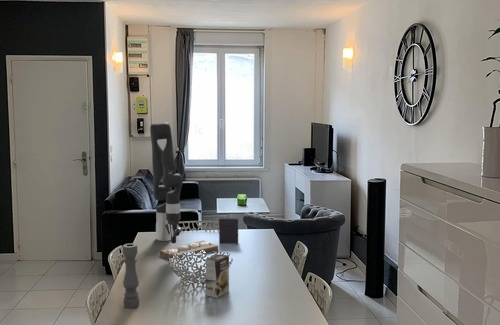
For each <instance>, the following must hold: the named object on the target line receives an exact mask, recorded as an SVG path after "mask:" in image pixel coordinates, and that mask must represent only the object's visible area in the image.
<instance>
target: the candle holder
mask: <svg viewBox="0 0 500 325" xmlns="http://www.w3.org/2000/svg"><path fill="white" fill-rule="evenodd" d="M122 254H123V257H124V258H125V259H123V263H124V264H125V272H124V277H123V281H122V282H123V283H122V285H123V286H122V287H123V288H124V289H125V292H124V294H123V296H124V297H123V308H124V309H127V310H128V309H129V310H130V309H131V310H132V309H137V308H139V307H140V296H139V291H137V288H138V287H139V284H140V281H139V278H138V275H137V274H138V273H137V270H136V263H137V262H138V259H137V258H136V257H137V254H138V244H137V243H132V242H130V243H125V244H123V245H122Z"/></svg>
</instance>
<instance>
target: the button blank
mask: <svg viewBox="0 0 500 325" xmlns="http://www.w3.org/2000/svg"><path fill="white" fill-rule="evenodd" d="M183 245H184V246H181V245H179V246H180V251H186V250H189V246H185V244H183Z"/></svg>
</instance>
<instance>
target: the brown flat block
mask: <svg viewBox="0 0 500 325" xmlns="http://www.w3.org/2000/svg"><path fill="white" fill-rule="evenodd" d="M202 242H208V243H209V245H208V246H201V245H200V243H202ZM192 243H198V244H199V248H195V249H192V248H190V244H192ZM184 245H185V246H189V250H186V251H180V246H184ZM172 249H176V250H178V253H174V254H177V256H178V257H179V258H180V259H181V258H182V257H183V255H182V253H187V252H193V251H195V254H197V253H198V252H200V251H201V250H205V252H206V253H207V254H211V253H214V252H213V251H215V252H218V251H219V245H218V244H215V243H212V242H209V241H205V240H200V241H194V242H190V243H185V244H181V245H177V246H172V247H167V248H163V249H160V250H159V256H160V257H163V258H165V259H167V260H169V258H173V255H174V254H171V253H169V250H172ZM210 252H211V253H210Z"/></svg>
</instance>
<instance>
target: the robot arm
mask: <svg viewBox="0 0 500 325" xmlns="http://www.w3.org/2000/svg"><path fill="white" fill-rule="evenodd" d="M149 133H150V140H151V141H150V142H151V150H152V151H151V154H152V155H151V160H152V173H153V176H152V177H153V184H152V185H153V186H152V187H153V188H152V189H153V192H152V193H153V199H154V200H155V201H165V202H164V203H163V204H160V205H157V206H156V208H155V213H156V214H155V215H156V216H155V218H156V223H155V238H156V240H157V241H158V242H168V241H170V243H171V244H177V237H178V236H180V235H181V232H182V230H183V227H181V226H180V223H179V221H180V220H181V204H180V202H181V198H180V196H181V191H182V186H183V183H184V182H183V181H184V179H183V178H184V177H183V176H182V175H181V174H180V173H173V172H175V171H176V170H177V164H176V159H175V154H174V143H173V135H172V128H171V125H170V123H169V122H167V121H164V122H157V123H155V122H154V123H151V124H150V126H149ZM160 140H166V144H165V147H164V148H163V149H162V147H161V146H160V144H159V142H158V141H160ZM161 181H162V184H160V183H161ZM173 188H174V189H173Z"/></svg>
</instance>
